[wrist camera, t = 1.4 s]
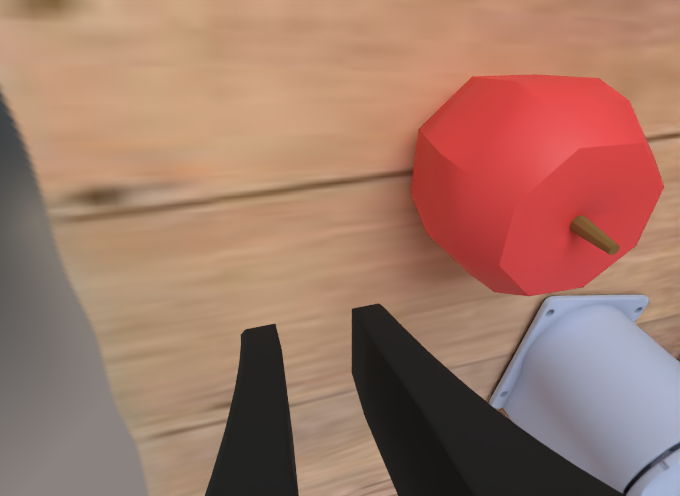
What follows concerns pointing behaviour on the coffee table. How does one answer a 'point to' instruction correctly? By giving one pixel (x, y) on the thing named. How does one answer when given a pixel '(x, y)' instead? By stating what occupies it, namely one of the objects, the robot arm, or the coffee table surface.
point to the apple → (535, 180)
